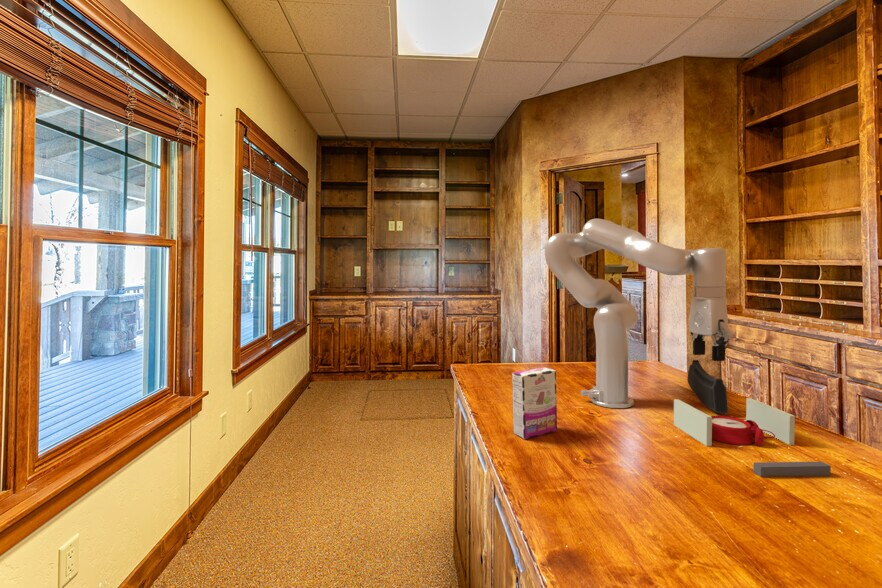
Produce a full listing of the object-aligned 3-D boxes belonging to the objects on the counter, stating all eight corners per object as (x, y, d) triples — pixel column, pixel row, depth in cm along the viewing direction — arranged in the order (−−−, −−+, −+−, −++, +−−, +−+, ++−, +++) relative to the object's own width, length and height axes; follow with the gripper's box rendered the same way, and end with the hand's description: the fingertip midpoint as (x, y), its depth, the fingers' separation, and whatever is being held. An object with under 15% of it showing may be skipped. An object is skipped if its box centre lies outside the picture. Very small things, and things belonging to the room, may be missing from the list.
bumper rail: (760, 476, 84) (760, 467, 83) (753, 472, 86) (753, 462, 85) (830, 475, 84) (830, 466, 83) (821, 471, 86) (821, 461, 85)
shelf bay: (706, 446, 99) (706, 417, 98) (673, 424, 113) (673, 399, 112) (794, 444, 98) (794, 415, 98) (750, 423, 112) (751, 398, 112)
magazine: (732, 389, 115) (701, 341, 142) (718, 388, 116) (690, 341, 143) (724, 440, 120) (696, 385, 147) (711, 439, 121) (686, 384, 148)
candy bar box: (544, 425, 114) (544, 366, 113) (557, 431, 109) (557, 370, 108) (511, 433, 108) (511, 371, 108) (523, 440, 104) (523, 375, 103)
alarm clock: (695, 413, 111) (762, 407, 105) (701, 436, 111) (768, 432, 105) (702, 427, 102) (776, 421, 96) (708, 452, 101) (783, 447, 95)
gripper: (677, 292, 122) (676, 352, 122) (716, 295, 104) (715, 364, 105) (702, 291, 122) (702, 351, 122) (746, 294, 104) (745, 364, 105)
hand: (708, 357), depth 114 cm, fingers open, 7 cm apart
